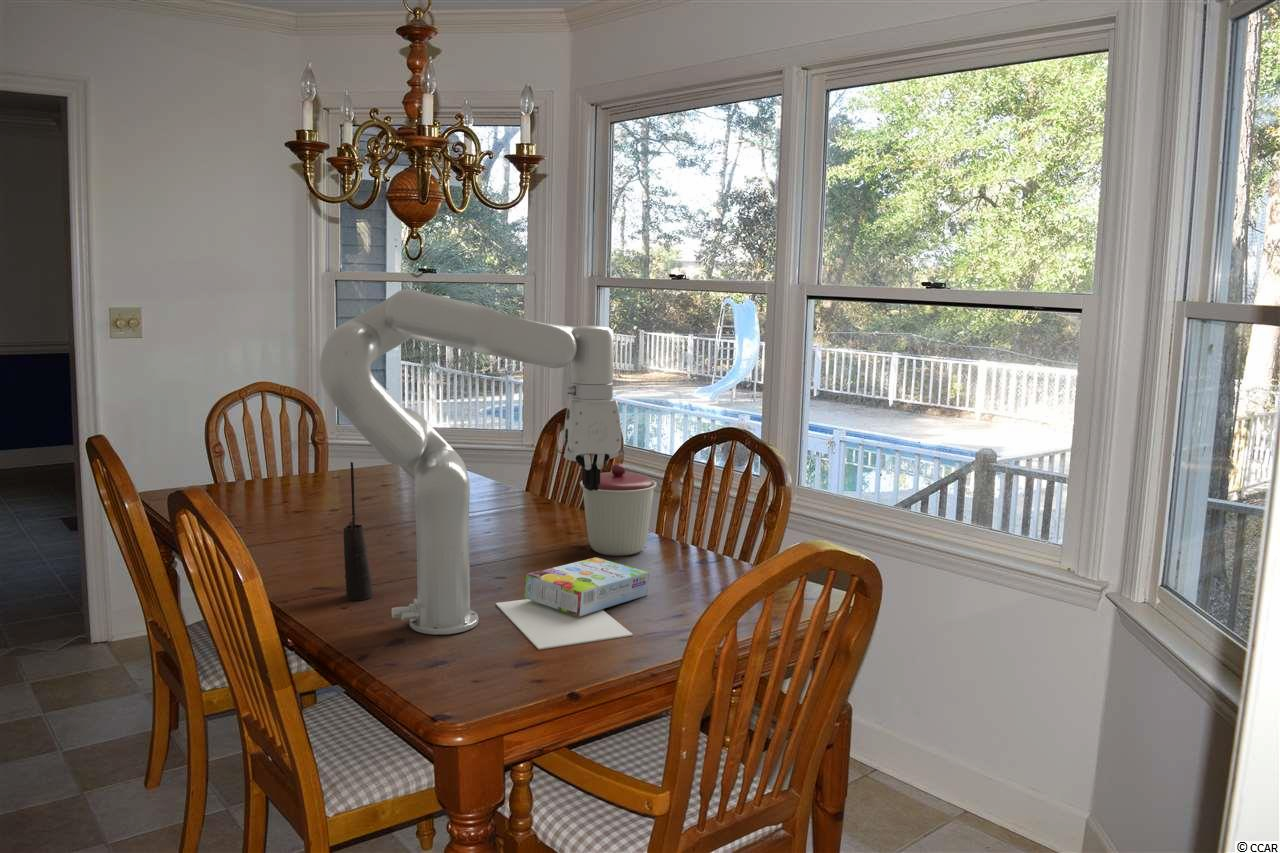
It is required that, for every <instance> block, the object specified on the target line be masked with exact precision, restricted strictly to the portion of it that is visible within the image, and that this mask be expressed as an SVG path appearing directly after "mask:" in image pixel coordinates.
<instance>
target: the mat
mask: <svg viewBox="0 0 1280 853" xmlns="http://www.w3.org/2000/svg"><path fill="white" fill-rule="evenodd" d="M495 605H496V607H497V608H499V610H500V611H501V612H502V613H503V614H504V615H505V616H506V617H507V618H508V619H509V620H510V621H511V622H512V623H513V624H514V625H515V626H516V627H517V629H519V631H520V632H521V633H522V634H523V635H524V636H525V637H526V638H527V639H528V640H529V642H531V643H532V645H533V646H535V648H536V649H537V650H539V651H541V650H546V649H547V650H548V649H553V648H561V647H566V646H572V645H573V646H574V645H580V644H586V643H593V642H600V641H605V640H606V641H607V640H612V639H620V638H626V637H627V638H628V637H633V635H634V634H633V633H632V632H631V631H630V630H628V629H627V628H626V627H625V626H624V625H622V624H621V623H619V622H618V621H617V620H616V619H615V618H613V617H612V616H611V615H610V614H608V613H607V612H606V611H604V609H601V610H598V611H595V612H592V613H589V614H586V615H583V616H579V617H578V616H575V615H572V614H570V613H567V612H564V611H561V610H558V609H555V608H552V607H549V606H547V605H543V604H541V603H538V602H535V601H532V600H529V599H525V598H524V599H517V600H510V601H502V602H500V601H499V602H495Z"/></svg>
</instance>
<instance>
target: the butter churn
mask: <svg viewBox="0 0 1280 853" xmlns="http://www.w3.org/2000/svg"><path fill="white" fill-rule="evenodd" d="M349 463H350V481H351V482H350V486H351V511H352V512H351V516H352V517H351V521H350V522H349V524H347V525H345V526H343V551H344V552H343V555H344V570H345V575H344V578H345V594H346V596H345V598H346V599H347V600H348V601H355V602H357V601H366V600H368V599H371V598H372V597H373V596H374V595H373V584H372V583H373V582H372V578H371V576H372V575H371V570H370V565H369V559H368V558H369V557H368V556H369V555H368V550H367V546H366V540H365V539H366V538H365V532H364V526H363V524H357V523H356V509H355V505H356V504H355V478H354V477H355V473H354V472H355V471H354V462H353V461H351V462H349Z"/></svg>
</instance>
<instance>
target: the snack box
mask: <svg viewBox="0 0 1280 853" xmlns="http://www.w3.org/2000/svg"><path fill="white" fill-rule="evenodd" d="M649 576H650V572H649V571H647V570H642V569H639V568H636V567H631V566H628V565H625V564H622V563H618V562H614V561H611V560H607V559H605V558H600V557H592V558H588V559H584V560H579V561H575V562H571V563H567V564H564V565H559V566H554V567H550V568H545V569H541V570H537V571H532V572H530V573H529V572H528V573H526V574H525V585H524V596H523V597H524V599H529V600H532V601H535V602H538V603H541V604H543V605H547V606H549V607H552V608H555V609H558V610H561V611H564V612H567V613H570V614H572V615H575V616H578V617H579V616H583V615H586V614H589V613H592V612H595V611H598V610H601V609H602V610H605V609H607V608H610V607H613V606H617V605H620V604H624V603H627V602H630V601H633V600H637V599H639V598H642V597H646V596H648V595H649V582H650V581H649V580H650V577H649Z"/></svg>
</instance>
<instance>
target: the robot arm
mask: <svg viewBox="0 0 1280 853" xmlns="http://www.w3.org/2000/svg"><path fill="white" fill-rule="evenodd" d="M411 339H412V340H414V341H420V342H424V343H429V344H430V343H432V344H435V345H440V346H444V347H450V348H454V349H459V350H462V351H466V352H467V351H468V352H471V353H476V354H480V355H485V356H492V357H493V356H494V357H499V358H503V359H507V360H512V361H517V362H521V363H524V364H525V363H526V364H530V365H535V366H539V367H544V368H550V369H561V368H564V367H566V366H568V365H569V364H570V363H572V364H571V365H572V368H571V369H572V376H571V378H572V379H571V380H572V381H571V384H570V386H567V387H565V388H564V392H565V395H570V397H571V398H570V399H568V403H567V408H566V413H565V418H564V419H565V420H564V429H563V430H564V431H563V446H564V449H565V450H564V454H563V457H564V459H565V460H568V461H571V462H572V461H573V462H576V463H577V464H578V465H579V466H580V468H582V473H581V474H582V479H581V481H582V483H583V485H584V487H585V488H586V489H587V490H589V491H593V490H598V485H600V473H601V470H602V469H603V468H604V465H605V464H606V462H608V461H609V460H612V459H615V458H617V457H618V456H619V455H620V450H621V448H622V433H621V432H622V429H621V419H620V410H619V409H620V408H619V403H618V399H615V398H614V399H613V392H614V391H613V390H614V388H613V387H614V384H613V381H614V380H613V379H614V331H613V330H612V329H611V327H608V326H603V325H580V326H569V325H562V324H561V325H560V324H555V323H543V322H539V321H535V320H531V319H526V318H522V317H519V316H514V315H510V314H507V313H503V312H500V311H497V310H496V309H494V308H491V307H489V306H485V305H482V304H481V305H480V304H477V303H473V302H468V301H463V300H459V299H455V298H451V297H450V298H449V297H444V296H441V295H436V294H432V293H428V292H423V291H418V290H417V289H412V288H411V289H410V288H407V289H406V288H405V289H402V290H399V291H397V292H395V293H393V295H391V296H389V297H387V298H386V299H385V300H383V301H381V302H379V303H378V304H376V305H375V306H372V307H371V308H369V309H367V310H366V311H364V312H362V313H360V314H359V315H356V316H355V317H353V318H351V319H349V320H347V321H346V322H344V323H342V324H340V325H339V326H337V327H336V328H335V329H334V330H332V331H331V332H330V333H329V335H328V337H327V339H326V341H325V343H324V345H323V348H322V351H321V355H320V361H319V378H320V382H321V385H322V387H323V390H324V392H325V394H326V395H327V397H328V399H329V401H330V402H331V403H332V404H333V406H335V407H336V409H337V410H338V411H339V413H341V415H343V416H344V417H345V418H346V419H347V420H348V421H349V423H350V424H351V425H352V426H353V427H354V428H355V429H356V431H358V433H359V434H360V435H361V436H362V437H363V438H364V439H365V441H367V442H368V443H369V444H370V445H371V446H372V447H373V448H374V449H375V451H376V452H377V453H378V455H380V457H381V458H382V459H384V460H385V461H386V462H388V463H390V464H391V465H394V466H399V467H401V469H402V470H404V472H405V473H406V474H407V475H408V476H409V477H410V478H411V479H413V480H412V481H414V499H415V524H416V525H415V530H416V531H415V534H416V535H415V537H416V538H415V539H416V571H417V573H416V578H417V579H416V580H417V583H416V584H417V598H413V603H409V604H408V606H396V607H392V608H391V617H392V619H397V618H398V619H399V618H401V621H406V620H407V621H408V620H409V627H410V628H411V629H412V630H413V631H415V632H418V633H420V634H425V635H435V636H436V635H437V636H438V635H440V636H441V635H453V634H458V633H459V634H460V633H464V632H466V631H469V630H472V629H473V628H475V627H476V626H477V625H478V623H479V614H478V613H477V612H476V611H474V610H473V609H471V593H470V592H471V590H470V589H471V588H470V587H471V583H470V582H471V581H470V580H471V578H470V574H471V573H470V568H471V566H470V494H471V490H470V488H471V487H470V478H469V474H468V469H467V466H466V464H465V461H464V460H463V458H462V457H461V456H460V455H459V453H457V451H456V450H455V449H454V448H453V447H452V446H451V445H450V444H449V443H448V442H447V441H446V440H445V439H444V438H443V437H442V435H440V434H439V433H438V431H436V429H435V428H434V427H433V426H432V425H431V424H430V423H429V422H428V421H427V420H426V419H425V418H424V417H423V416H422V415H421V414H419V413H418V412H417V411H415V410H414V409H411V408H407V407H403V406H402V405H401V404H400V403H399V402H398V401H397V400H396V399H395V398H394V397H393V396H392V395H391V394H390V392H389V391H388V390H387V389H386V388H385V387H384V386H383V385H382V384H381V383H380V382H379V381H378V380H377V379H376V378H375V377H374V375H373V373H372V369H371V366H372V363H373V362H374V361H375V360H376V359H379V358H380V357H382V356H383V355H385V354H387V353H389V352H390V351H392V350H394V349H396V348H397V347H399V346H401V345H402V344H404V343H406V342H407V341H409V340H411ZM591 455H592V460H591Z"/></svg>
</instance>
